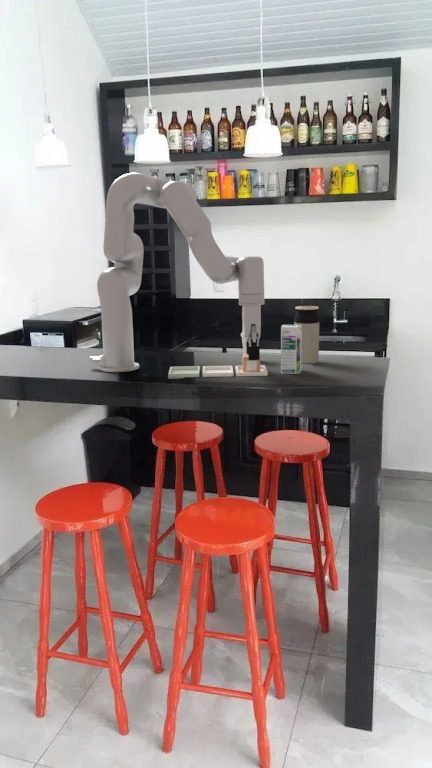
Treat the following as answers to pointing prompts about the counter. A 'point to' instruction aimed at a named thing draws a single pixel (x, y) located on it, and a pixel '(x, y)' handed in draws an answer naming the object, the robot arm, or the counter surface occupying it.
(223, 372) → the tray
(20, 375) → the counter surface
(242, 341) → the smoothie
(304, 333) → the travel mug
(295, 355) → the syrup box
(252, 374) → the tray
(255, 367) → the light orange cube
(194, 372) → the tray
